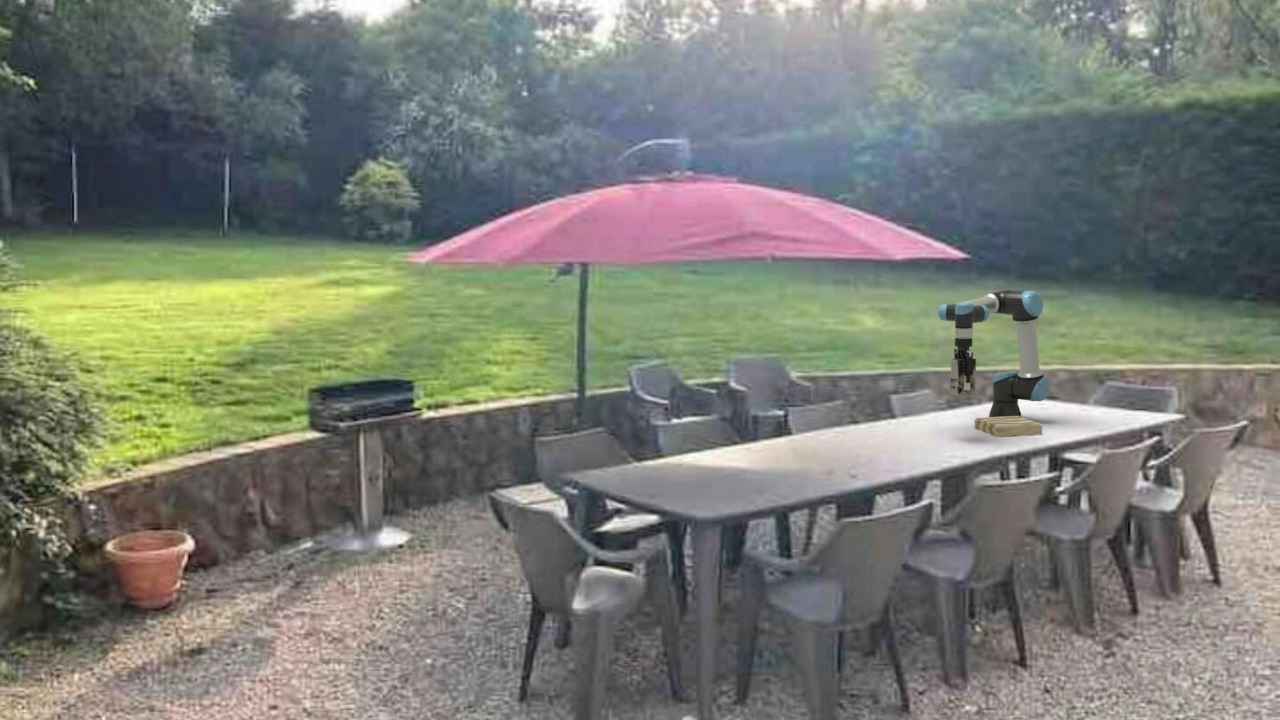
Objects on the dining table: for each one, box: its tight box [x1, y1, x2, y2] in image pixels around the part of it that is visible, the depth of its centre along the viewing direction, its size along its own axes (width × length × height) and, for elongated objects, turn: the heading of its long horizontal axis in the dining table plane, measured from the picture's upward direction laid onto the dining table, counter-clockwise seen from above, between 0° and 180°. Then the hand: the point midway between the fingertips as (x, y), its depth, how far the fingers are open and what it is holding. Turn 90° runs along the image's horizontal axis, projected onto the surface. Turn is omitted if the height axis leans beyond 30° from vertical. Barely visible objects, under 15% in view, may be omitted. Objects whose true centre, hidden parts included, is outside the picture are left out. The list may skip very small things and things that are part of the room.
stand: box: [974, 416, 1043, 438], centre depth 511 cm, size 22×22×5 cm
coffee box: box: [949, 358, 977, 397], centre depth 492 cm, size 9×6×16 cm
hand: (963, 388), depth 492 cm, fingers closed on coffee box, 7 cm apart
